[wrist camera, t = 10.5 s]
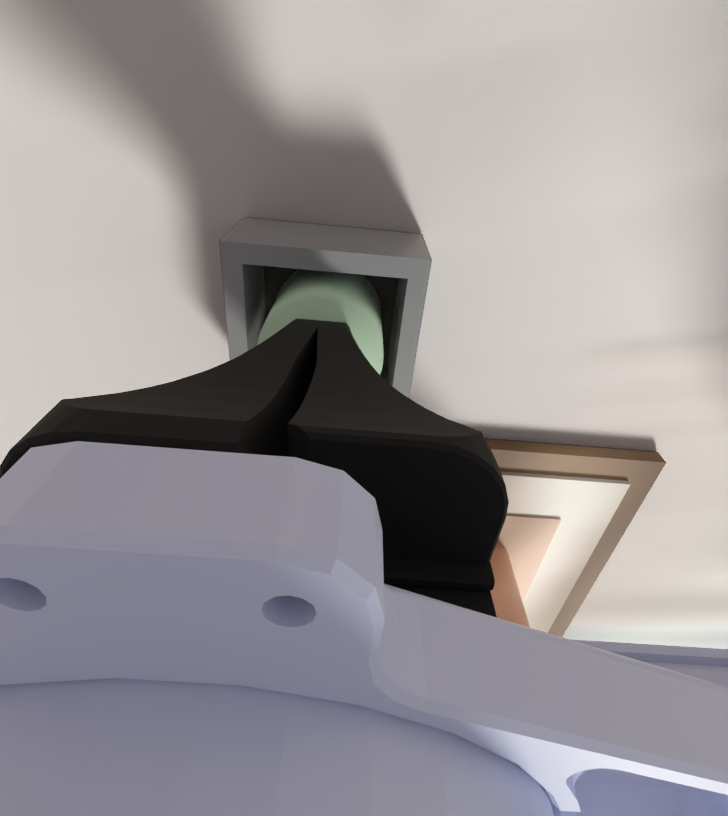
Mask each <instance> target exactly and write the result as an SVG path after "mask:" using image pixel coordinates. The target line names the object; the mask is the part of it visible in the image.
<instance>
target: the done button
mask: <svg viewBox="0 0 728 816" xmlns="http://www.w3.org/2000/svg"><path fill="white" fill-rule="evenodd" d="M297 318H298V319H309V320H321V321H333V322H345V323H347V325H348V326H349V327H350V330H351V333H352V335H353V337H354V339H355V341H356V343H357V345H358V346H359V348H360V350H361V351H362V353H363V354H364V356H365V357H366V359H367V360H368V361H369V363H370V364H371V365H372V366H373V368H374V369H375V370H376V371H377V373H378V374H379V375H380V373H381V371H382V366H383V333H382V312H381V304H380V300H379V297H378V295H377V292H376V290H375V289H374V287H373V286H372V284H371V283H370V281H369V280H368V279H367V278H366V277H365V276H364V275H360V274H349V273H338V272H327V271H315V270H304V269H298V270H297V271H295V272H294V273H293V274H292V275H291V276H290V277H289V278H288V279H287V280H286V281H285V283H284V284H283V286H282V288H281V290H280V292H279V294H278V296H277V298H276V300H275V302H274V304H273V306H272V308H271V310H270V312H269V315H268V317H267V319H266V321H265V323H264V325H263V327H262V329H261V332H260V335H259V338H258V343H257V345H259V344H260V343H262V342H264V341H265V340H266V339H268V338H269V337H271V336H272V335H274V334H275V333H277V332H278V331H279V330H281V329H282V328H284V327H285V326H286V325H288V324H289V323H290V322H292V321H293V320H295V319H297Z"/></svg>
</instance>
